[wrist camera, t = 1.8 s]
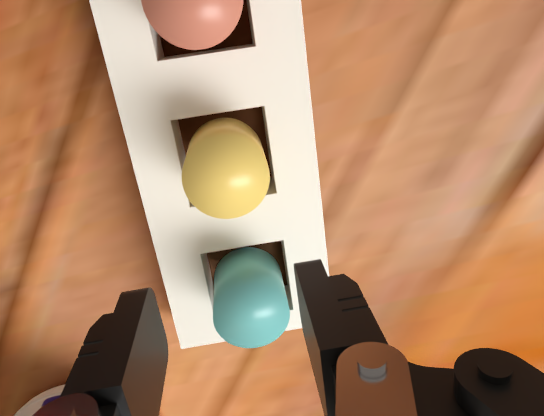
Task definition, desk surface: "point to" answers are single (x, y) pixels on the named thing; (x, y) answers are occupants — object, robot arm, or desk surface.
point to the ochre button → (225, 169)
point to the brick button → (193, 21)
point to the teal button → (249, 298)
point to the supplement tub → (40, 401)
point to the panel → (171, 155)
